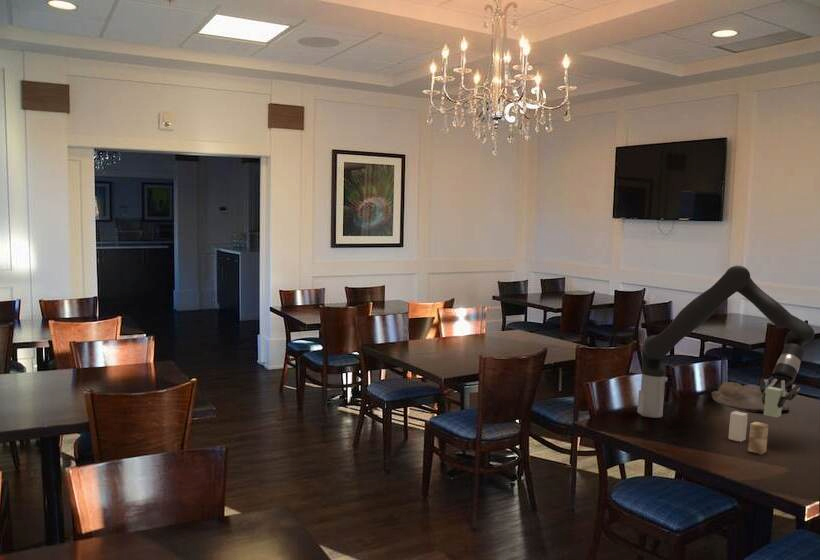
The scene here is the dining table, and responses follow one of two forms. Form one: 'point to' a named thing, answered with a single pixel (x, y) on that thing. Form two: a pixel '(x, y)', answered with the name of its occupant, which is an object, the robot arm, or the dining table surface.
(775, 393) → the sage block
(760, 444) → the oak block
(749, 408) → the flat cap
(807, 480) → the dining table surface
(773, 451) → the dining table surface
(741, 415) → the cream block
